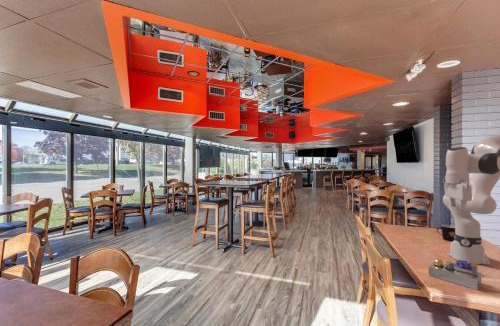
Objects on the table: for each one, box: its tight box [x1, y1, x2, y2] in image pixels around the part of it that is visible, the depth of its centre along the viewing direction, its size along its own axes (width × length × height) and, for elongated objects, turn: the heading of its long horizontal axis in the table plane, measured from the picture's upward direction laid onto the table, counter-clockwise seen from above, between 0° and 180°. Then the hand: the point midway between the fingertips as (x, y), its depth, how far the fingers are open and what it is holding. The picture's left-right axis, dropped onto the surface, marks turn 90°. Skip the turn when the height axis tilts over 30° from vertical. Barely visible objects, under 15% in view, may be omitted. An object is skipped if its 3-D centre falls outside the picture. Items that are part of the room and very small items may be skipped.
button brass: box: [434, 258, 444, 268], centre depth 123 cm, size 3×3×4 cm
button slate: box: [445, 261, 455, 271], centre depth 119 cm, size 3×3×4 cm
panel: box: [428, 261, 482, 291], centre depth 118 cm, size 10×18×5 cm, turn 39°
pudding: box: [454, 260, 472, 271], centre depth 127 cm, size 12×12×5 cm
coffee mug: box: [436, 224, 455, 242], centre depth 180 cm, size 12×9×10 cm
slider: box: [471, 263, 479, 276], centre depth 112 cm, size 3×1×5 cm, turn 129°
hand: (457, 208), depth 119 cm, fingers open, 8 cm apart
